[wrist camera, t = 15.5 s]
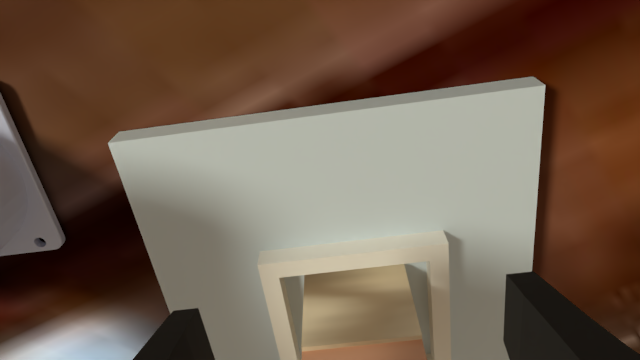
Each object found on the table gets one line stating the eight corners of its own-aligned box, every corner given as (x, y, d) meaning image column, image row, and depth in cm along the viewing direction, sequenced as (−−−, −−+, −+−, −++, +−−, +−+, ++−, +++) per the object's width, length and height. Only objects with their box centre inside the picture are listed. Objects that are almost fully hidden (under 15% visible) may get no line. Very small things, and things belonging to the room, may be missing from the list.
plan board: (218, 417, 29) (211, 453, 27) (118, 131, 20) (97, 153, 18) (514, 389, 28) (529, 424, 26) (533, 76, 19) (557, 93, 17)
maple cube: (317, 344, 24) (317, 426, 20) (304, 272, 22) (301, 347, 18) (408, 335, 24) (426, 416, 20) (403, 261, 22) (422, 335, 18)
